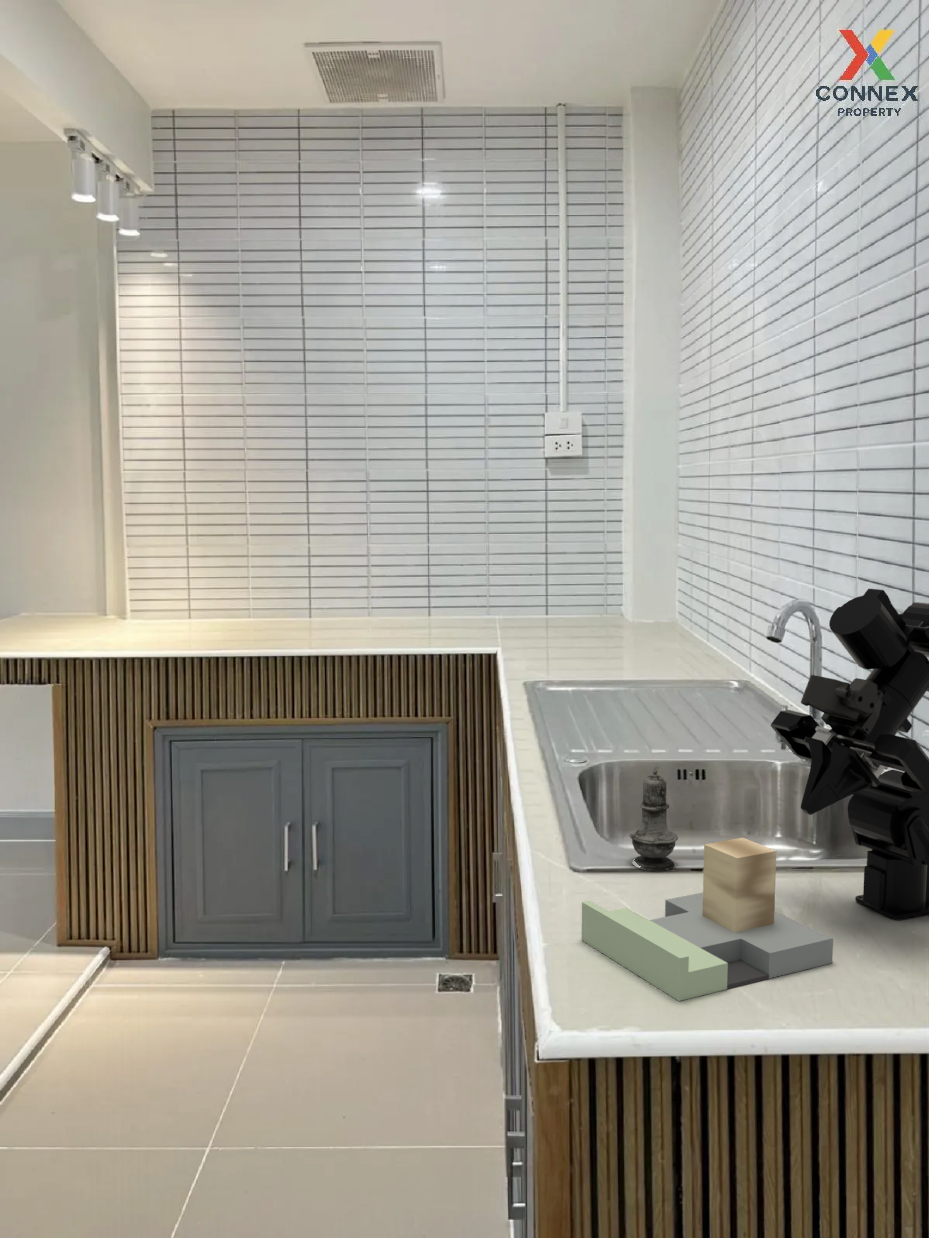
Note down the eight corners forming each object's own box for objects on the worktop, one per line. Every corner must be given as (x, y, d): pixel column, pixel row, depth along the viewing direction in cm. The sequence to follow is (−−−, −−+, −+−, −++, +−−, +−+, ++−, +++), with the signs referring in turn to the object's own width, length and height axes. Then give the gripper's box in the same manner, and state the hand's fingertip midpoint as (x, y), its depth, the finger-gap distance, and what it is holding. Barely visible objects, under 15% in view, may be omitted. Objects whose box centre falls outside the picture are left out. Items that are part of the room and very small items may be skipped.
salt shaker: (644, 874, 139) (646, 775, 138) (620, 859, 145) (621, 765, 143) (686, 868, 141) (689, 771, 140) (661, 854, 147) (663, 760, 145)
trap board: (724, 910, 127) (725, 874, 127) (832, 962, 113) (833, 923, 113) (581, 939, 119) (581, 901, 118) (679, 1000, 105) (679, 958, 104)
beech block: (740, 907, 121) (742, 837, 120) (774, 923, 117) (776, 850, 116) (702, 915, 119) (704, 844, 118) (734, 932, 114) (737, 858, 114)
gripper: (786, 637, 129) (704, 745, 126) (921, 659, 113) (832, 784, 109) (836, 701, 134) (759, 807, 130) (973, 732, 117) (889, 854, 113)
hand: (805, 811), depth 121 cm, fingers closed
